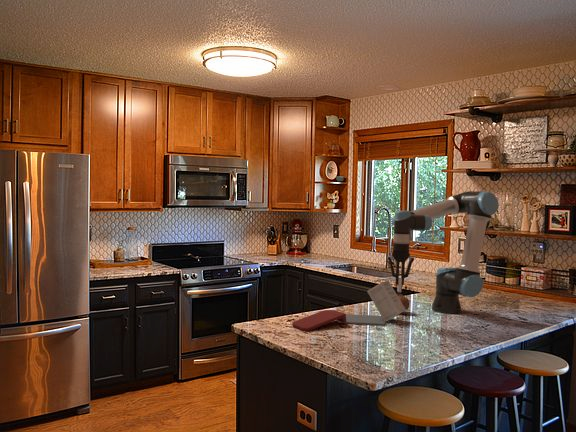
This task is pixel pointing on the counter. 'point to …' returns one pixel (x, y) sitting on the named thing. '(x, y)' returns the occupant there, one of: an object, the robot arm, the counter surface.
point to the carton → (319, 319)
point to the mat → (364, 319)
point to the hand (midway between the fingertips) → (399, 291)
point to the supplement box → (386, 300)
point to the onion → (404, 301)
